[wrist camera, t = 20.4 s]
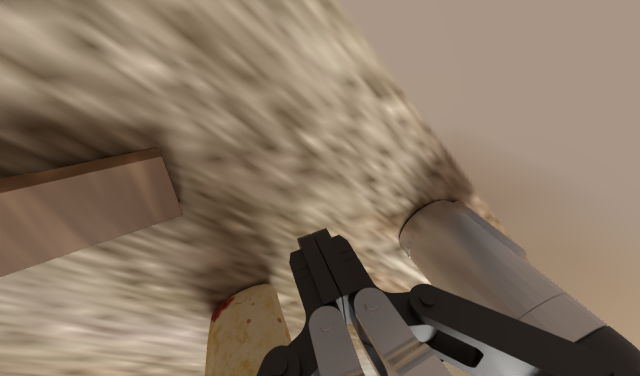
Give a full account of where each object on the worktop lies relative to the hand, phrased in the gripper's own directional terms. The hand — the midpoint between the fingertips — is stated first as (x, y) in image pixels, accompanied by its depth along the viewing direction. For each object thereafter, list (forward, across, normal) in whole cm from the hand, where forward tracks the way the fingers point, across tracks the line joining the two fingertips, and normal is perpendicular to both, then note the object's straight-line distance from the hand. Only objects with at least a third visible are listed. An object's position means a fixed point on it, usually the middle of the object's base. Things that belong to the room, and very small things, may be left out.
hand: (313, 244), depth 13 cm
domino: (+10, +8, 0) cm, 12 cm away
